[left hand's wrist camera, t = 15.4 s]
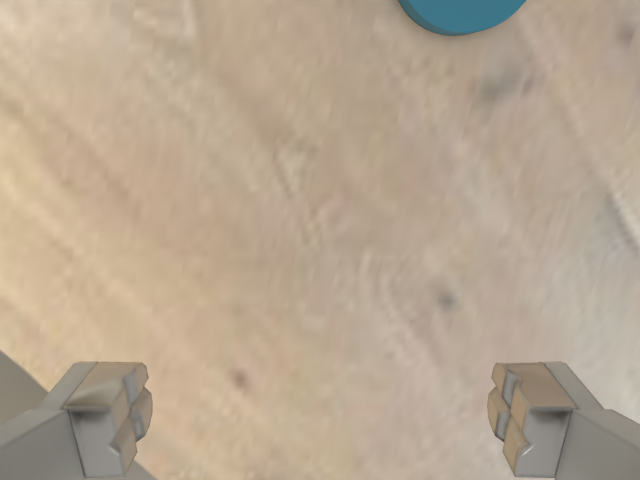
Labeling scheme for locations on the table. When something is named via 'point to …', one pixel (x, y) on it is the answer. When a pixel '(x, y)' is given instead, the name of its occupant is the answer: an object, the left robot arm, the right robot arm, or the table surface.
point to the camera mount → (459, 14)
